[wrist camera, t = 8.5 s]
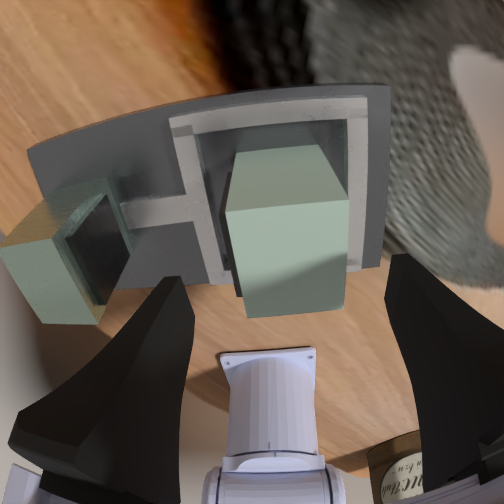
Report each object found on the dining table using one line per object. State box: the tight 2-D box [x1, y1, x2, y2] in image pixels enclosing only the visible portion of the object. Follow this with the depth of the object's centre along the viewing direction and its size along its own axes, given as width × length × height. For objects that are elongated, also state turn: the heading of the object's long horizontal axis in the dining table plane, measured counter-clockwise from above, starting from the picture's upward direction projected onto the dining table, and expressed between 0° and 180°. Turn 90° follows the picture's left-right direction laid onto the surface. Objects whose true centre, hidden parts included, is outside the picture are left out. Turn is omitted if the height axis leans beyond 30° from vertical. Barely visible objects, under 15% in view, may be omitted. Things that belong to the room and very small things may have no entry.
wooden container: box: [367, 430, 423, 504], centre depth 36 cm, size 15×15×22 cm
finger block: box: [218, 145, 349, 318], centre depth 14 cm, size 4×5×6 cm
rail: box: [0, 83, 391, 325], centre depth 15 cm, size 20×11×7 cm, turn 97°
